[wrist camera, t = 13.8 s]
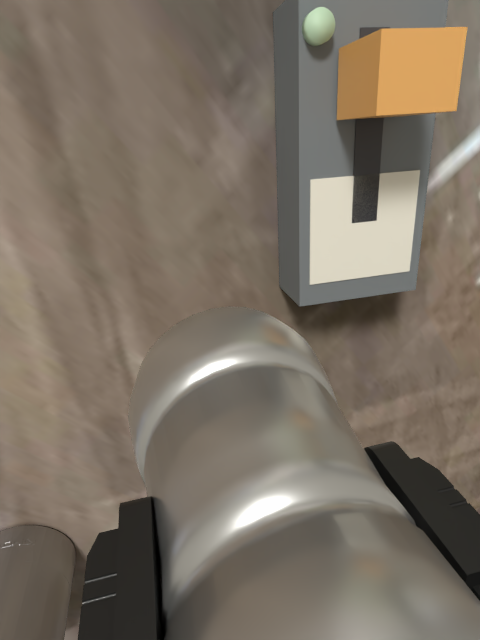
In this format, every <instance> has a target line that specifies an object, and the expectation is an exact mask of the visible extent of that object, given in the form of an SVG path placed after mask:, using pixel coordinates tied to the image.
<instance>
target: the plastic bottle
mask: <svg viewBox="0 0 480 640" xmlns="http://www.w3.org/2000/svg"><path fill="white" fill-rule="evenodd" d="M128 421H129V428H130V434H131V439H132V444H133V449H134V454H135V459H136V462H137V465H138V468H139V471H140V474H141V477H142V479H143V482H144V484H145V486H146V491H147V497H150V496H152V502H153V514H154V525H155V536H156V547H157V558H158V568H159V576H160V616H161V625H162V629H163V633H164V640H480V601H479V600H478V598H477V597H476V596H475V595H474V593H473V592H472V591H471V590H470V588H469V587H468V586H467V585H466V583H465V582H464V581H463V580H462V578H461V577H460V576H459V575H458V574H457V572H456V571H455V570H454V569H453V567H452V566H451V565H450V564H449V562H448V561H447V560H446V559H445V557H444V556H443V555H442V554H441V552H440V551H439V550H438V549H437V548H436V546H435V545H434V544H433V543H432V541H431V540H430V539H429V538H428V536H427V535H426V534H425V533H424V531H423V530H421V529H420V528H418V527H417V526H416V524H415V521H414V520H413V518H412V517H411V516H410V514H409V513H408V512H407V511H406V509H405V508H404V507H403V506H402V504H401V503H400V502H399V501H398V499H397V498H396V497H395V496H394V495H393V493H392V492H391V491H390V490H389V488H388V487H387V486H386V485H385V483H384V481H383V480H382V478H381V476H380V475H379V473H378V471H377V470H376V468H375V466H374V465H373V463H372V461H371V460H370V458H369V456H368V455H367V453H366V451H365V450H364V448H363V446H362V445H361V443H360V441H359V439H358V438H357V436H356V434H355V433H354V431H353V429H352V428H351V426H350V424H349V423H348V421H347V419H346V418H345V416H344V414H343V413H342V411H341V409H340V408H339V406H338V403H337V401H336V398H335V395H334V393H333V390H332V387H331V385H330V382H329V380H328V377H327V375H326V373H325V371H324V369H323V367H322V365H321V364H320V362H319V360H318V358H317V356H316V354H315V352H314V351H313V350H312V348H311V347H310V345H309V344H308V343H307V341H306V340H305V339H304V338H303V337H302V336H300V335H299V334H298V333H297V332H296V331H294V330H293V329H292V328H290V327H289V326H287V325H285V324H284V323H282V322H281V321H279V320H278V319H276V318H274V317H272V316H270V315H268V314H266V313H264V312H262V311H259V310H255V309H251V308H247V307H230V306H229V307H221V308H214V309H209V310H206V311H203V312H200V313H197V314H194V315H192V316H190V317H188V318H186V319H184V320H182V321H181V322H179V323H177V324H176V325H174V326H173V327H172V328H170V329H169V330H168V331H167V332H165V333H164V334H163V335H162V336H161V337H160V338H159V339H158V340H157V341H156V343H155V344H154V345H153V346H152V347H151V348H150V350H149V352H148V353H147V355H146V357H145V358H144V360H143V362H142V364H141V367H140V370H139V373H138V375H137V378H136V382H135V385H134V388H133V391H132V395H131V398H130V404H129V413H128Z"/></svg>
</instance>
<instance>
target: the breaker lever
mask: <svg viewBox="0 0 480 640" xmlns="http://www.w3.org/2000/svg"><path fill="white" fill-rule="evenodd" d="M466 34H467V27H444V28H389V29H380V30H378V31H375V32H373V33H371V34H369V35H367V36H365V37H363V38H360V39H358V40H356V41H354V42H352V43H350V44H348V45H345V46H343V47H341V48H339V60H338V94H337V120H349V119H365V118H382V117H398V116H411V115H421V114H431V113H441V112H451V111H456V110H457V102H458V95H459V87H460V79H461V72H462V64H463V57H464V49H465V41H466Z"/></svg>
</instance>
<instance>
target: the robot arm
mask: <svg viewBox="0 0 480 640" xmlns="http://www.w3.org/2000/svg"><path fill="white" fill-rule="evenodd" d="M364 450H365V451H366V453H367V455H368V456H369V458H370V460H371V461H372V463H373V465H374V466H375V468H376V470H377V471H378V473H379V475H380V476H381V478H382V480H383V481H384V483H385V485H386V486H387V487H388V488H389V490H390V491H391V492H392V493H393V495H394V496H395V497H396V498H397V499H398V501H399V502H400V503H401V504H402V506H403V507H404V508H405V509H406V511H407V512H408V513H409V514H410V516H411V517H412V518H413V520H414V521H415V524H416V526H417V527H418V528H420V529H421V530H423V531H424V533H425V534H426V535H427V536H428V538H429V539H430V540H431V541H432V543H433V544H434V545H435V546H436V548H437V549H438V550H439V551H440V552H441V554H442V555H443V556H444V557H445V559H446V560H447V561H448V562H449V564H450V565H451V566H452V567H453V569H454V570H455V571H456V572H457V574H458V575H459V576H460V577H461V578H462V580H463V581H464V582H465V583H466V585H467V586H468V587H469V588H470V590H471V591H472V592H473V593H474V595H475V596H476V597H477V598H478V600H479V601H480V514H478V512H477V511H476V510H475V509H474V508H473V507H472V506H471V505H470V504H468V503H467V502H466V499H465V498H464V497H463V496H462V495H461V494H460V493H459V492H458V490H457V489H456V490H455V489H454V486H453V485H452V484H451V483H450V482H449V481H448V479H447V478H446V477H445V476H444V475H443V474H442V473H441V472H440V471H439V470H438V469H437V468H435V467H433V466H432V465H430V464H429V463H427V462H425V461H424V460H422V459H420V458H419V457H417V458H413V459H410V458H409V457H408V456H407V455H406V454H405V452H404V451H403V450H402V449H401V448H400V447H399V445H398V444H396V443H395V442H387V443H383V444H378V445H374V446H370V447H366V448H364ZM75 560H76V551H75V548H74V545H73V544H72V542H71V541H70V539H68V538H67V537H66V536H65V535H64V534H62V533H60V532H59V531H57V530H54V529H51V528H48V527H44V526H37V525H24V526H17V527H12V528H9V529H5V530H2V531H0V640H64V636H65V629H66V622H67V615H68V608H69V601H70V596H71V589H72V582H73V574H74V567H75ZM82 602H83V605H82V607H81V616H80V625H79V634H78V640H164V633H163V629H162V625H161V616H160V576H159V568H158V558H157V547H156V536H155V525H154V514H153V502H152V496H150V497H145V498H141V499H137V500H132V501H128V502H124V503H120V507H119V528H118V529H114V530H110V531H106V532H102V533H99V534H98V536H97V538H96V540H95V542H94V544H93V546H92V548H91V550H90V552H89V554H88V556H87V563H86V572H85V585H84V589H83V598H82Z"/></svg>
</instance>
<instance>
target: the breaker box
mask: <svg viewBox="0 0 480 640" xmlns="http://www.w3.org/2000/svg"><path fill="white" fill-rule="evenodd" d="M447 8H448V0H285V1H284V2H283V3H282V4H281V5H280V6H279V7H278V8H277V9H276V10H275V11H274V12H273V29H274V72H275V114H276V157H277V199H278V242H279V284H280V288H281V289H282V290H283V291H284V292H285V293H286V294H287V295H288V296H289V297H290V298H291V299H292V300H293V301H294V302H295V303H296V304H298V305H299V306H307V305H314V304H321V303H328V302H334V301H341V300H348V299H355V298H362V297H369V296H376V295H382V294H389V293H396V292H403V291H410V290H416V281H417V272H418V263H419V255H420V246H421V237H422V228H423V219H424V211H425V202H426V193H427V184H428V175H429V167H430V158H431V149H432V140H433V131H434V123H435V114H436V113H431V114H421V115H411V116H398V117H382V118H365V119H349V120H337V94H338V60H339V48H341V47H343V46H345V45H348V44H350V43H352V42H354V41H356V40H358V39H360V38H363V37H365V36H367V35H369V34H371V33H373V32H375V31H378V30H380V29H389V28H444V27H445V26H446V17H447Z"/></svg>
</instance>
